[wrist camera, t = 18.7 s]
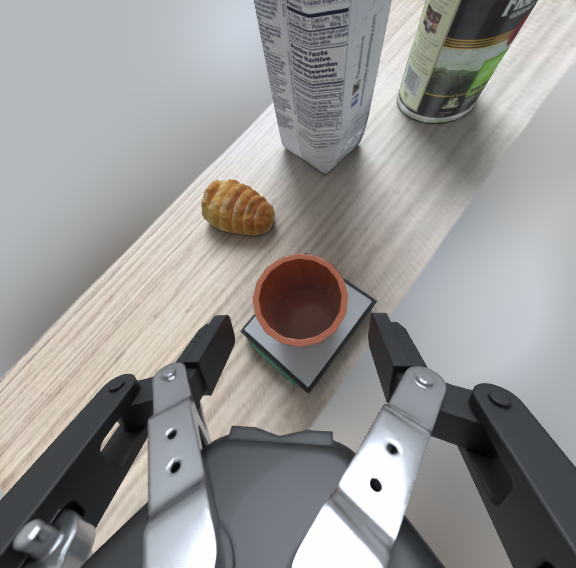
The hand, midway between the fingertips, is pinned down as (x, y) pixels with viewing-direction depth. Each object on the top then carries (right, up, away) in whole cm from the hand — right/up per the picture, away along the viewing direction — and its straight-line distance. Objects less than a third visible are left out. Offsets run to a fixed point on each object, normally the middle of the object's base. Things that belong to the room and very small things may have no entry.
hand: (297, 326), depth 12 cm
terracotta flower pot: (+1, -1, +9) cm, 9 cm away
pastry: (-7, +12, +17) cm, 22 cm away
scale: (+2, -1, +12) cm, 12 cm away
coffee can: (+20, +29, +18) cm, 40 cm away
